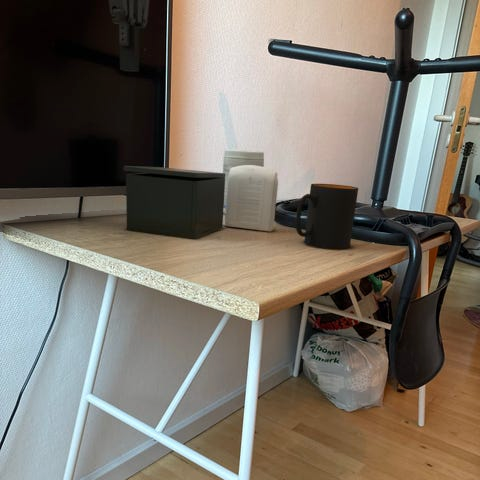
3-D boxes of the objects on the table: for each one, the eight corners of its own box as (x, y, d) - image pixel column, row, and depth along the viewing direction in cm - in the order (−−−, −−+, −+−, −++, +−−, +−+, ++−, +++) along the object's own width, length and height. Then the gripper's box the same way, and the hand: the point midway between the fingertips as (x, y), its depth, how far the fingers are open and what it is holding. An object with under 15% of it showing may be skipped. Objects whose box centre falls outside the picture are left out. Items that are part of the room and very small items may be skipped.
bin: (194, 239, 85) (197, 181, 81) (126, 229, 89) (125, 174, 85) (222, 228, 97) (225, 177, 94) (161, 220, 101) (162, 171, 97)
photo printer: (275, 229, 100) (281, 167, 96) (271, 232, 96) (277, 167, 92) (227, 224, 103) (231, 163, 98) (221, 227, 99) (225, 163, 94)
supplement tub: (246, 211, 124) (250, 150, 119) (267, 217, 117) (273, 152, 112) (213, 211, 119) (216, 148, 114) (233, 217, 112) (237, 150, 107)
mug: (279, 242, 88) (284, 182, 84) (328, 239, 94) (335, 183, 91) (308, 251, 81) (316, 188, 78) (359, 247, 88) (368, 188, 84)
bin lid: (195, 177, 80) (195, 172, 80) (123, 170, 84) (123, 165, 84) (225, 177, 94) (225, 173, 93) (162, 171, 97) (162, 167, 97)
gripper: (127, -129, 66) (128, 64, 74) (170, -86, 78) (167, 76, 86) (80, -124, 68) (86, 63, 76) (129, -84, 80) (130, 75, 88)
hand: (129, 70), depth 81 cm, fingers closed
